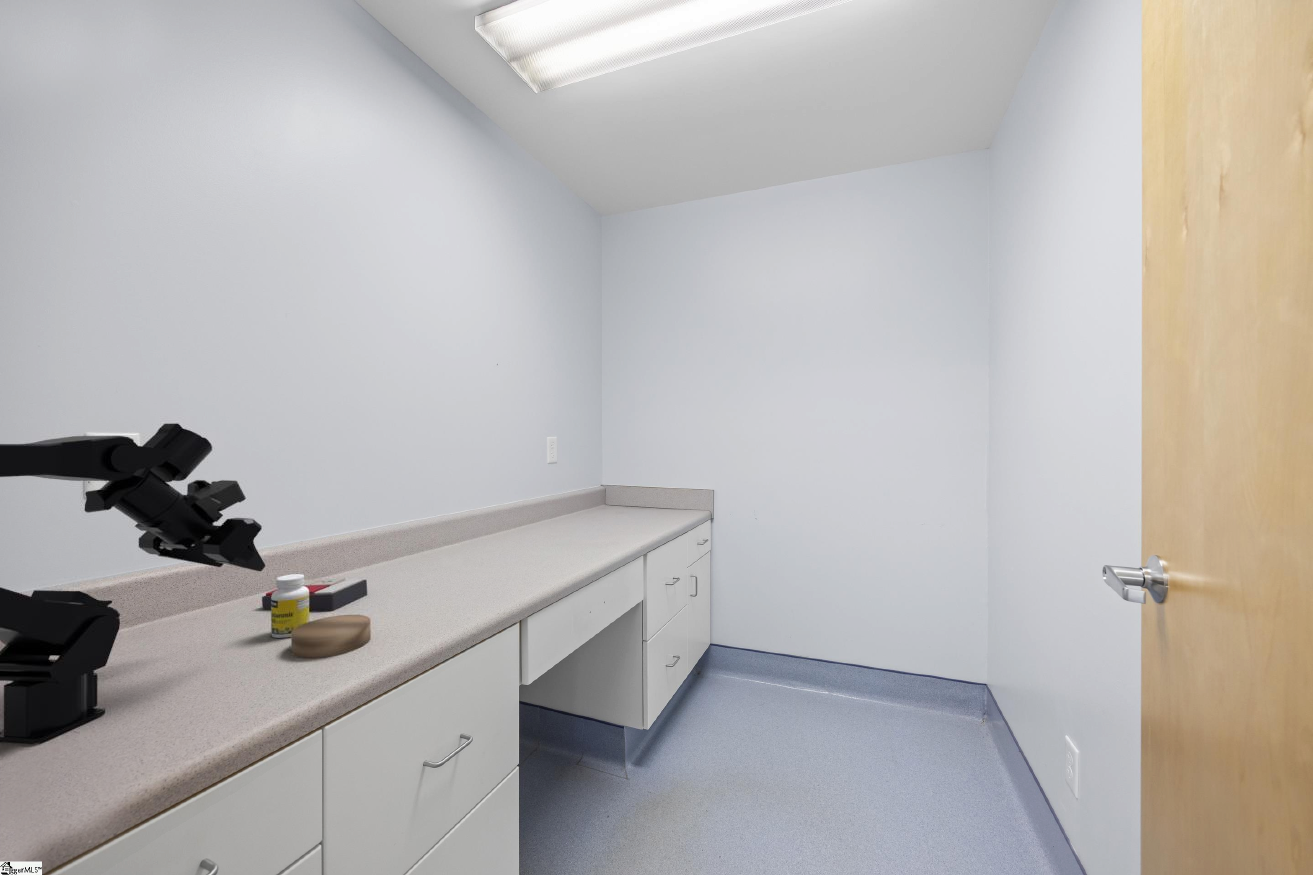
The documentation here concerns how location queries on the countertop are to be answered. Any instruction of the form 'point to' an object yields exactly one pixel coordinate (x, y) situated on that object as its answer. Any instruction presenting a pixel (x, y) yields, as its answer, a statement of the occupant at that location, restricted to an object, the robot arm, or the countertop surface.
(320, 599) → the red and grey box
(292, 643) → the pedestal
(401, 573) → the countertop surface
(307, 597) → the supplement bottle
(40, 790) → the countertop surface
